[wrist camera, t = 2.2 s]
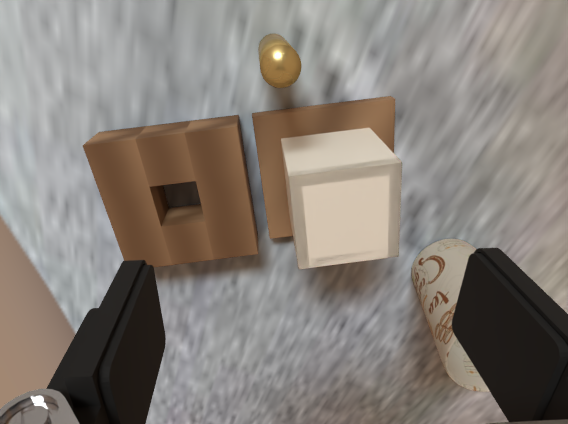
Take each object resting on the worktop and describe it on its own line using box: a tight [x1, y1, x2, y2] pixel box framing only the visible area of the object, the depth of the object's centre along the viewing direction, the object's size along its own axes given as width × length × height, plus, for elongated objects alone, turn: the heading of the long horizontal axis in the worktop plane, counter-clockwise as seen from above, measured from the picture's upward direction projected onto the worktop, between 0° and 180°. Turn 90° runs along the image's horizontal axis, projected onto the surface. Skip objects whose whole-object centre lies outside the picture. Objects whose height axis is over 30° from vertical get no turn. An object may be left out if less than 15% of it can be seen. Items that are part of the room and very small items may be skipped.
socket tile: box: [83, 115, 258, 267], centre depth 29 cm, size 10×10×3 cm
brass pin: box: [258, 34, 301, 88], centre depth 23 cm, size 2×2×8 cm
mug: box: [412, 239, 490, 392], centre depth 32 cm, size 8×13×10 cm, turn 64°
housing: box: [281, 128, 402, 269], centre depth 27 cm, size 6×6×7 cm
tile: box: [252, 96, 395, 239], centre depth 28 cm, size 10×10×6 cm
